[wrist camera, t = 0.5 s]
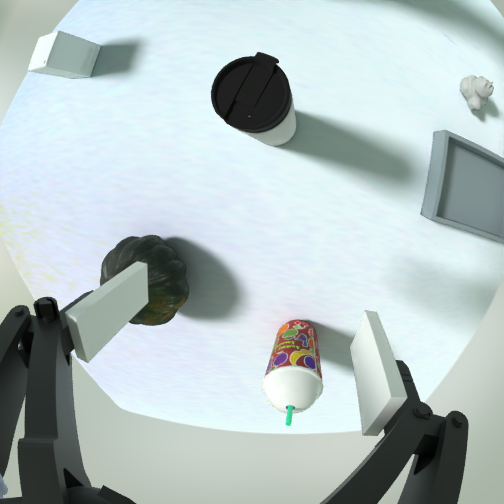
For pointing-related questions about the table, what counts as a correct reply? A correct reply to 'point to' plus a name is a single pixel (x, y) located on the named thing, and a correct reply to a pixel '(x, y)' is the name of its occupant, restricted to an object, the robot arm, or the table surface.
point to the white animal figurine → (476, 91)
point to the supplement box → (64, 56)
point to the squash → (151, 276)
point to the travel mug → (256, 99)
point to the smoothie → (294, 370)
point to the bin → (465, 186)
